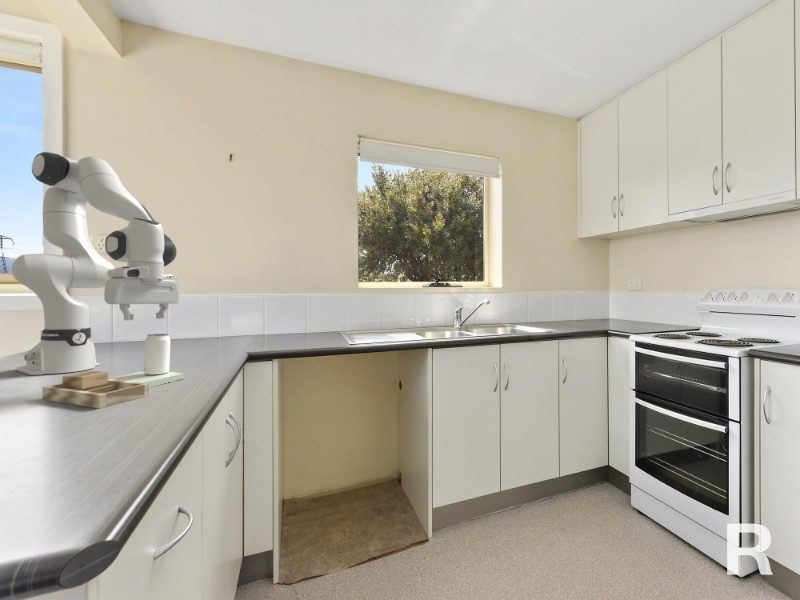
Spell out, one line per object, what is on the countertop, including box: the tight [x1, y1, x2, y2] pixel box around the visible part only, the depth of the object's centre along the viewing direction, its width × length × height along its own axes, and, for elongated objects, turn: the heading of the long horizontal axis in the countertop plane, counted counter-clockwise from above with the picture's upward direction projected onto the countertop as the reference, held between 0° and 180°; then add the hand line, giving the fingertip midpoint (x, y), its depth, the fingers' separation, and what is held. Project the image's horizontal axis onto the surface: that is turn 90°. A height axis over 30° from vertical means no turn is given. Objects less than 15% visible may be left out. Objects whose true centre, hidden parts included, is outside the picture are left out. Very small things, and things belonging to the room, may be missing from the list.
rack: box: [41, 379, 150, 409], centre depth 88 cm, size 20×11×3 cm, turn 73°
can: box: [143, 333, 171, 375], centre depth 107 cm, size 6×6×12 cm
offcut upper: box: [61, 370, 109, 389], centre depth 89 cm, size 6×7×3 cm
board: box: [108, 370, 185, 388], centre depth 103 cm, size 14×14×2 cm
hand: (145, 319), depth 103 cm, fingers open, 8 cm apart
